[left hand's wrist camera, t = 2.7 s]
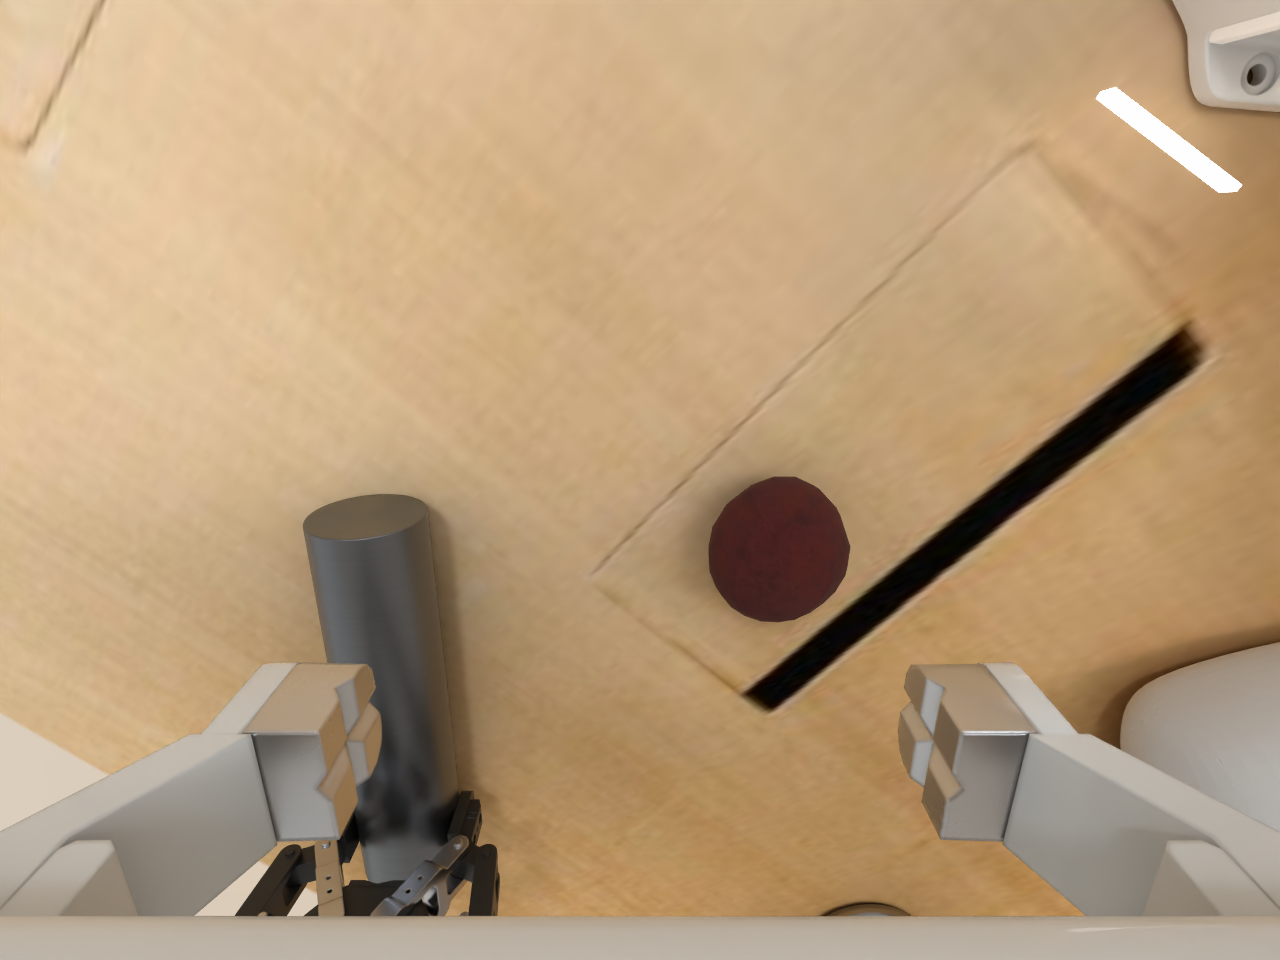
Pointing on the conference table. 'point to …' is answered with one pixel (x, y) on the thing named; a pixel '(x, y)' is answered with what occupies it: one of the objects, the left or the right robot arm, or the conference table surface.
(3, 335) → the conference table surface
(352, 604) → the rod
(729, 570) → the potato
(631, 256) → the conference table surface
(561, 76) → the conference table surface
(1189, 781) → the white slotted shell
